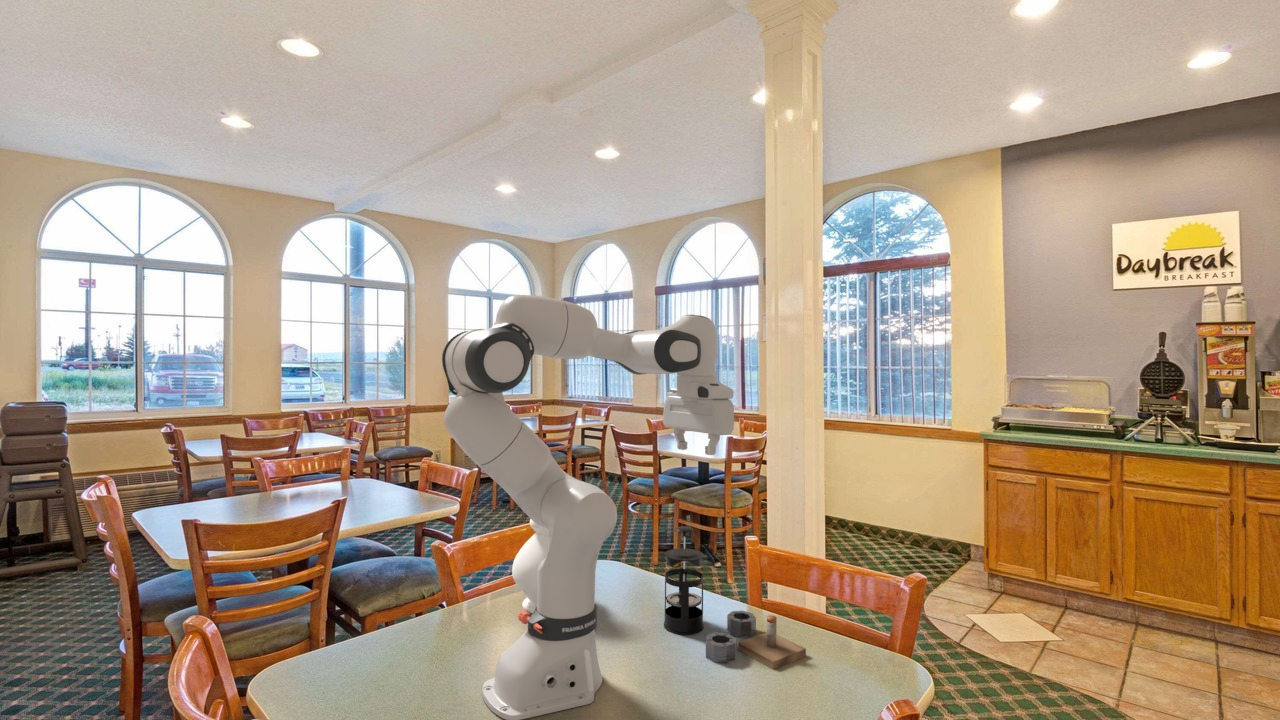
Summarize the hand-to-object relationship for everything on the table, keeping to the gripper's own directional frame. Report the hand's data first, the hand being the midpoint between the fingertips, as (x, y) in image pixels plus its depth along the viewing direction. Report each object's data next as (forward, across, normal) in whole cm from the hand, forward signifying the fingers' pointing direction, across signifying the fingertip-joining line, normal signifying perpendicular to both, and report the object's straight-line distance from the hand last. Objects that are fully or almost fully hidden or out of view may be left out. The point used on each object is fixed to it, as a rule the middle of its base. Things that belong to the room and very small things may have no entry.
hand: (695, 451), depth 132 cm
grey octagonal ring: (+42, +2, +13) cm, 44 cm away
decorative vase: (+42, -38, -17) cm, 59 cm away
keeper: (+42, +12, +11) cm, 45 cm away
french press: (+42, -9, +4) cm, 43 cm away
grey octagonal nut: (+42, +7, +1) cm, 43 cm away
